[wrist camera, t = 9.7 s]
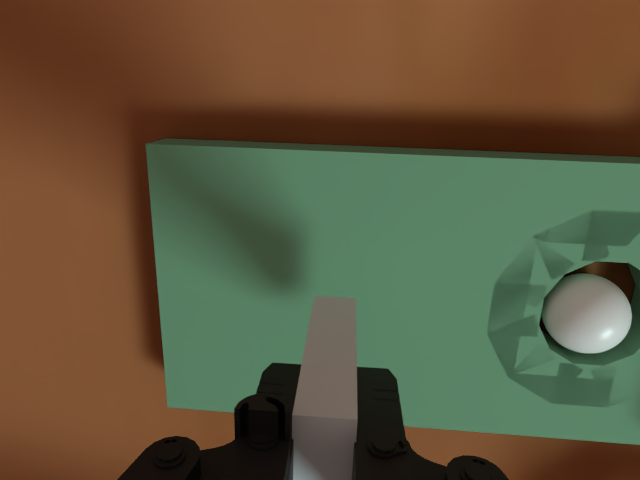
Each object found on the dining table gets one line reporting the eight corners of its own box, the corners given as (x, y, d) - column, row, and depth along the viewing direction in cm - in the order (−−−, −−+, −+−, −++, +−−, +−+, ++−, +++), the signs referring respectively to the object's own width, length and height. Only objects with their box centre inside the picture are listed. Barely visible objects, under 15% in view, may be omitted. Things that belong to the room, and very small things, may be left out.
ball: (613, 382, 18) (628, 335, 20) (633, 314, 17) (646, 272, 19) (526, 351, 20) (547, 311, 22) (537, 288, 18) (559, 251, 21)
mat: (183, 381, 24) (167, 407, 22) (165, 138, 20) (145, 143, 18) (685, 419, 22) (716, 450, 20) (769, 162, 18) (815, 170, 17)
